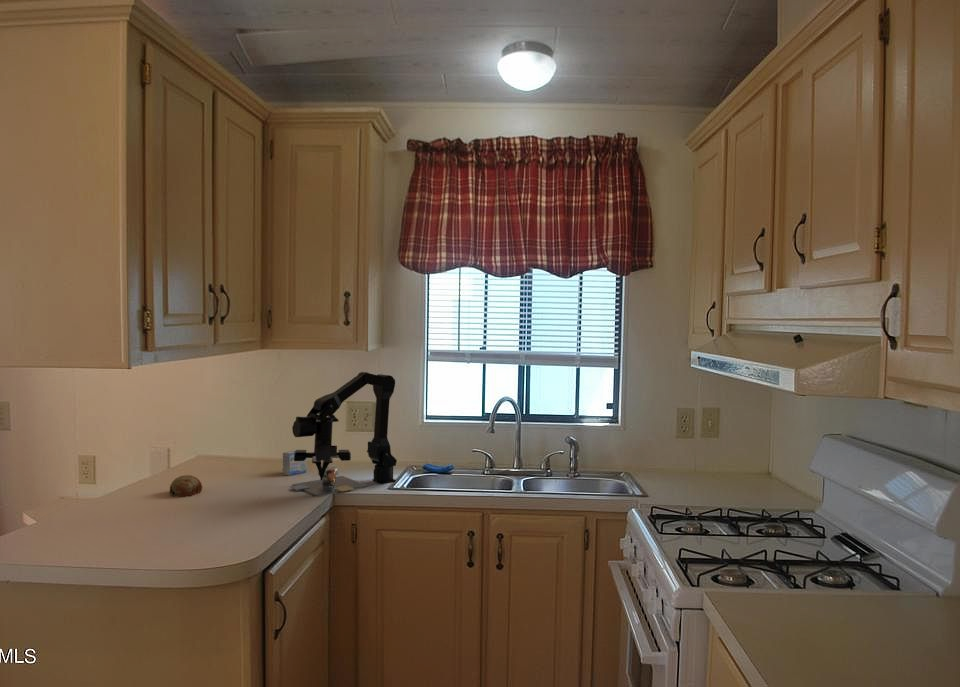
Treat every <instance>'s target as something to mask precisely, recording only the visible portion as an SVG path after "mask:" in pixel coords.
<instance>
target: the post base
mask: <svg viewBox="0 0 960 687" xmlns="http://www.w3.org/2000/svg"><path fill="white" fill-rule="evenodd" d="M289 488H291V489H292V490H295V491H300V490H301V491H302V492H304V493H307V494H309V495H312V496H313V497H315V498H317V497H321V496H323V497H324V496H327V495H332V494H338V493H342V492H347V491H353V490H357V489H359V490H360V489H363V488H368V484H365V483H363V482H359V481H357V480H354V479H352V478H349V477H346V476H343V475H337V476H336V482H333V483H328V482H327V477H324V476H323V478H322V480H320V479H316V480H315V479H314V480H310V481H303V482H299V483H293V484H291V485H290V486H289Z"/></svg>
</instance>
